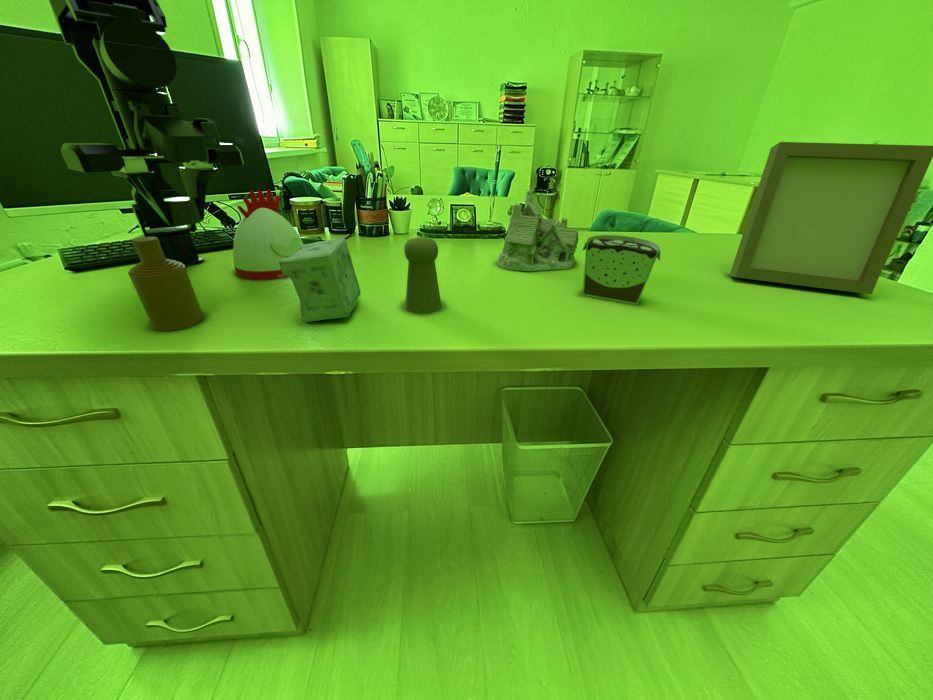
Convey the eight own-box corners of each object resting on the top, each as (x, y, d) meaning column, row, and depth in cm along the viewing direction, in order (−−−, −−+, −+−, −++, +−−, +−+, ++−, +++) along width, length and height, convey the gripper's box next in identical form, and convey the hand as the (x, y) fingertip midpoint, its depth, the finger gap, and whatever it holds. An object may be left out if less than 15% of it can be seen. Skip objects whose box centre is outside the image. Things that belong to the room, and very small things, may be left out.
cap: (195, 218, 56) (187, 196, 54) (207, 222, 54) (199, 199, 52) (164, 222, 53) (156, 198, 52) (176, 226, 51) (167, 202, 50)
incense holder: (313, 299, 63) (300, 237, 57) (362, 299, 63) (354, 237, 58) (292, 324, 54) (275, 254, 49) (349, 324, 54) (338, 254, 49)
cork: (447, 302, 63) (446, 236, 57) (432, 316, 58) (430, 245, 52) (415, 297, 64) (411, 232, 59) (398, 310, 59) (393, 241, 54)
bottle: (190, 309, 58) (160, 231, 52) (212, 319, 55) (182, 237, 49) (144, 324, 53) (105, 240, 47) (165, 335, 50) (126, 247, 44)
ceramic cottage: (487, 263, 81) (497, 190, 74) (521, 251, 93) (532, 187, 86) (552, 283, 74) (570, 205, 67) (580, 266, 86) (598, 199, 79)
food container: (647, 294, 68) (663, 239, 63) (646, 306, 63) (663, 247, 58) (580, 283, 72) (589, 231, 67) (574, 293, 67) (584, 238, 62)
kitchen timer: (324, 266, 78) (311, 189, 70) (263, 284, 68) (239, 197, 60) (284, 255, 84) (267, 184, 77) (222, 270, 74) (196, 190, 67)
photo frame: (868, 299, 68) (962, 146, 56) (733, 281, 75) (790, 141, 63) (833, 275, 80) (905, 145, 68) (720, 262, 87) (766, 141, 75)
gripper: (63, 81, 35) (133, 244, 43) (250, 98, 49) (278, 220, 57) (27, 85, 40) (96, 230, 48) (206, 99, 54) (237, 211, 62)
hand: (186, 222), depth 54 cm, fingers closed on cap, 4 cm apart
